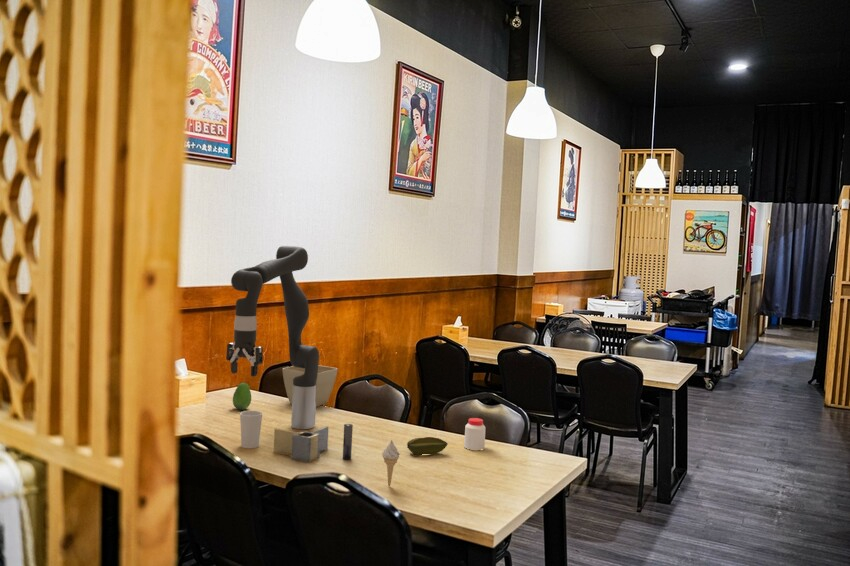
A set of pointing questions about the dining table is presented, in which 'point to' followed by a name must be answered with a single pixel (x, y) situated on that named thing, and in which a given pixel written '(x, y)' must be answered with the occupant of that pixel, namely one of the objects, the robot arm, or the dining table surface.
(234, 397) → the fruit
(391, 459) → the ice cream cone
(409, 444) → the fruit
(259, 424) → the cup
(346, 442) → the hinge pin
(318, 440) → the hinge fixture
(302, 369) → the flower pot
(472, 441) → the pill bottle
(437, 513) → the dining table surface
